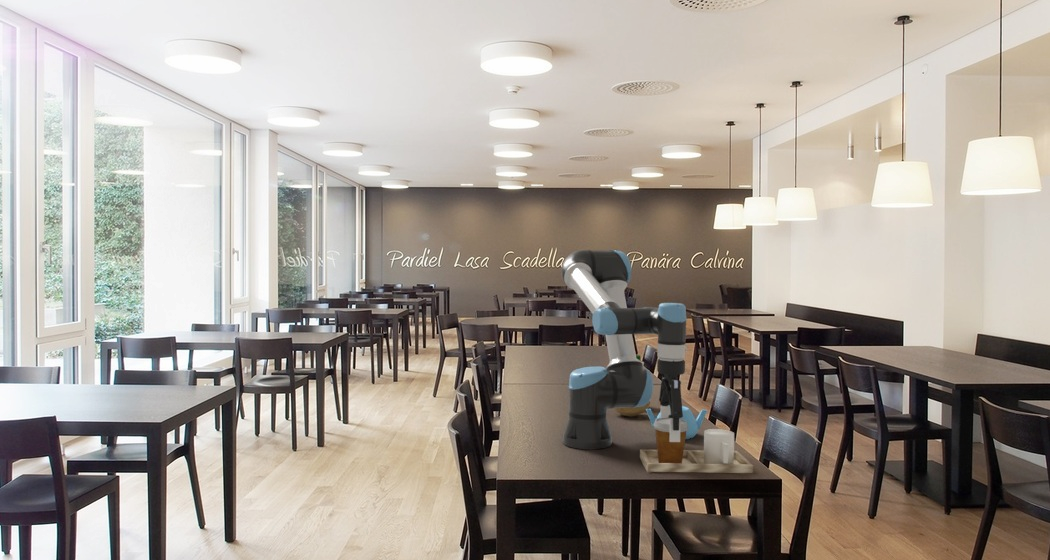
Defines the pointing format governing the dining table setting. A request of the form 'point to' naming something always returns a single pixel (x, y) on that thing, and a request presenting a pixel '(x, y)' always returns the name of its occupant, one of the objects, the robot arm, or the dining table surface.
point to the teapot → (688, 417)
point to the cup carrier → (694, 463)
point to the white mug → (718, 446)
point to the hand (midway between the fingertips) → (669, 435)
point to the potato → (632, 410)
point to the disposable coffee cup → (665, 448)
